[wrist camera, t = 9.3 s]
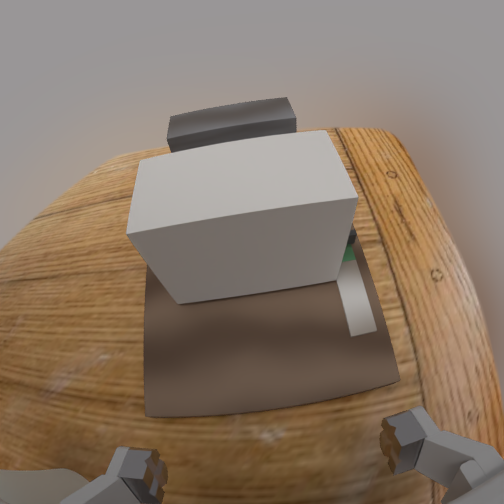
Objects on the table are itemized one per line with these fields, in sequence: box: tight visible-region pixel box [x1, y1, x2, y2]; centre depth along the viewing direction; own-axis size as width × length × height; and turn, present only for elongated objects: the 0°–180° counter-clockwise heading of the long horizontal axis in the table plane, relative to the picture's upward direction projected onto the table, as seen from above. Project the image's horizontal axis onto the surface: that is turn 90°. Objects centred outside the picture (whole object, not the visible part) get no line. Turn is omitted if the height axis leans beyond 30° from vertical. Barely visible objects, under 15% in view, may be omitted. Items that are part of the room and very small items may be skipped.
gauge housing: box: [126, 130, 358, 304], centre depth 21 cm, size 8×14×9 cm, turn 97°
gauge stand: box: [144, 97, 400, 418], centre depth 21 cm, size 22×18×10 cm
